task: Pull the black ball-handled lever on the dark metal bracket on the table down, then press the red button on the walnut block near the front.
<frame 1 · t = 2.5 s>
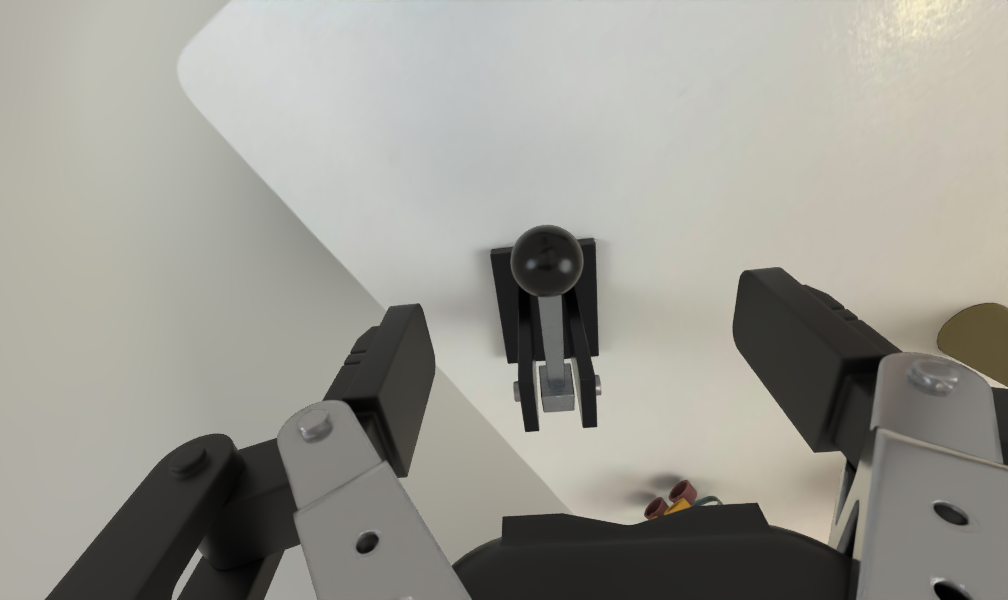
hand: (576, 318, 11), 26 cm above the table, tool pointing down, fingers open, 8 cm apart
bracket: (547, 302, 41), on the table
binoculars: (669, 491, 54), on the table
olive game pawn: (971, 329, 41), on the table
lever: (552, 338, 25), point 15 cm above the table, hinge at 25.0°
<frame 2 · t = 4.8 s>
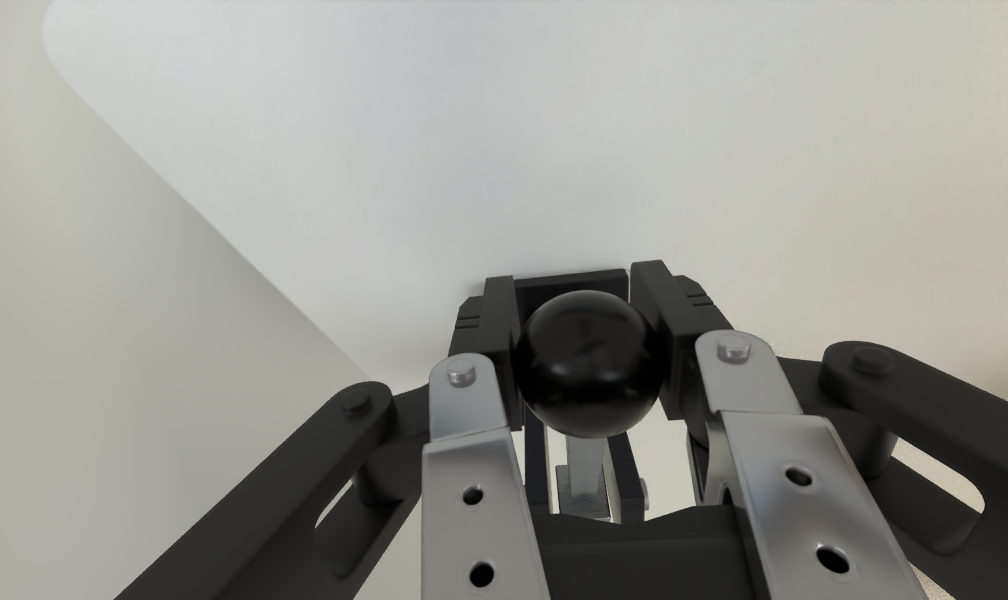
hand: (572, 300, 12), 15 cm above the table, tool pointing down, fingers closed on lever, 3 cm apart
bracket: (561, 349, 31), on the table
lever: (583, 454, 15), point 15 cm above the table, hinge at 25.0°, touching gripper
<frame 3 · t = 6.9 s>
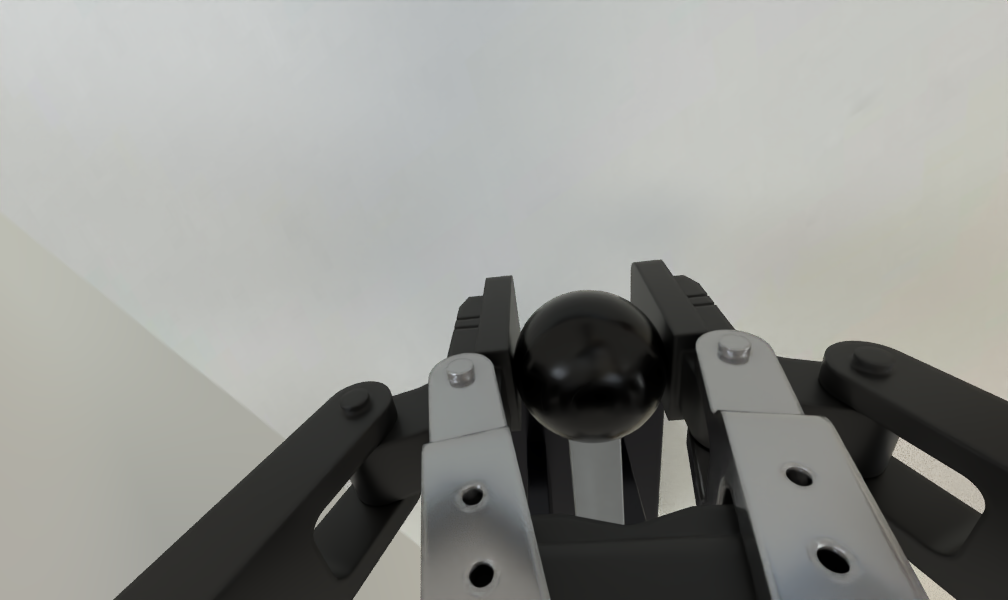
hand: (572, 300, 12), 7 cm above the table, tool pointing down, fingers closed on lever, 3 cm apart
bracket: (574, 449, 25), on the table
lever: (603, 589, 12), point 11 cm above the table, hinge at -8.7°, touching gripper
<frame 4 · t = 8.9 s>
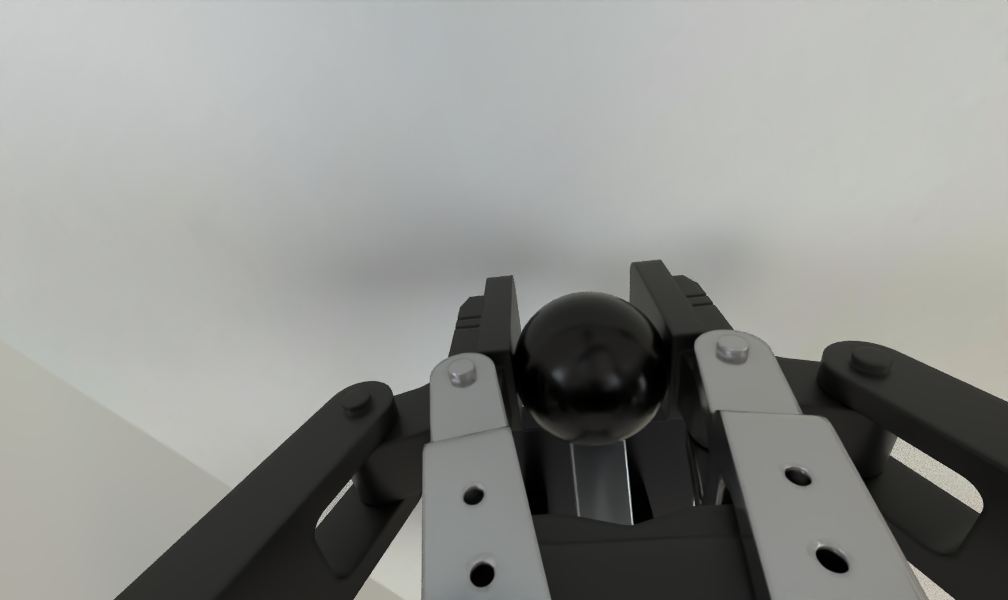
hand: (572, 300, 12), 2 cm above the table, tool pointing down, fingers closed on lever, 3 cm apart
bracket: (582, 497, 20), on the table
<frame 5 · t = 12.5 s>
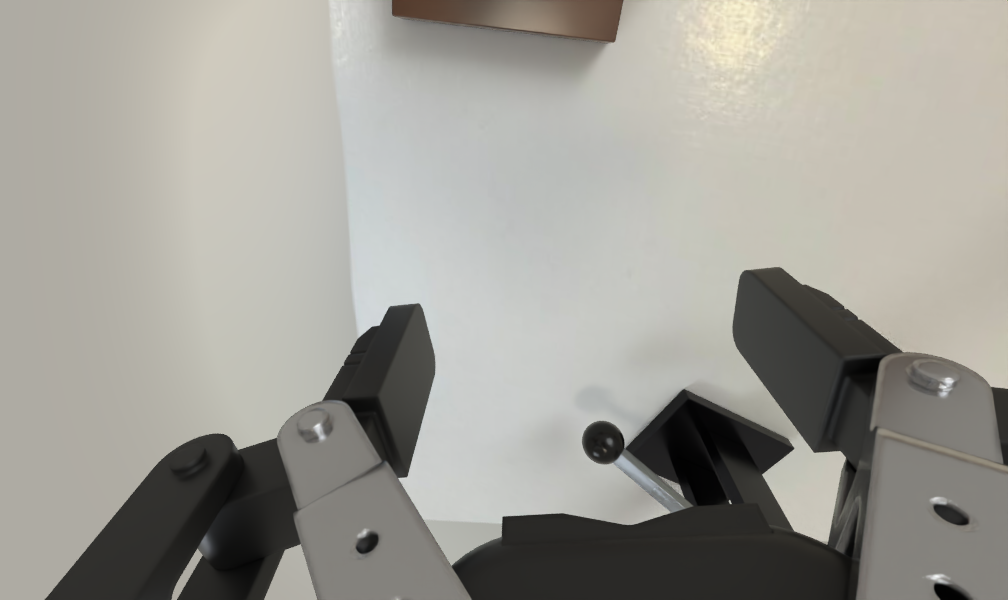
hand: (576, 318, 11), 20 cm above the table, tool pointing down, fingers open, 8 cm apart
bracket: (703, 445, 41), on the table
lever: (679, 506, 32), point 9 cm above the table, hinge at -28.4°
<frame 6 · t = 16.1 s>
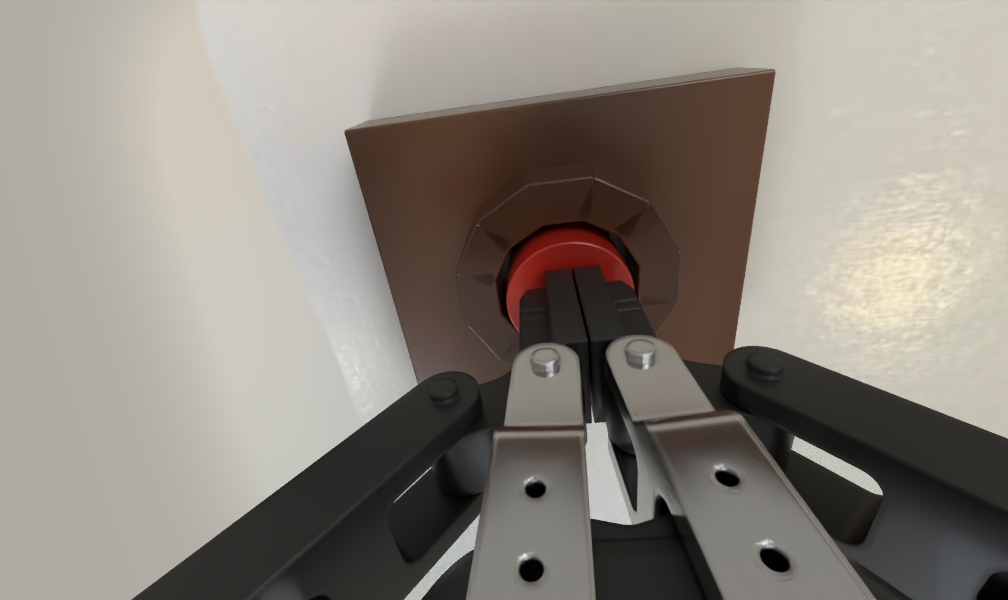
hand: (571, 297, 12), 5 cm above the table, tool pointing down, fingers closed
red button: (567, 287, 13), point 4 cm above the table, slide at -0.5 cm, touching gripper
button block: (557, 240, 16), on the table
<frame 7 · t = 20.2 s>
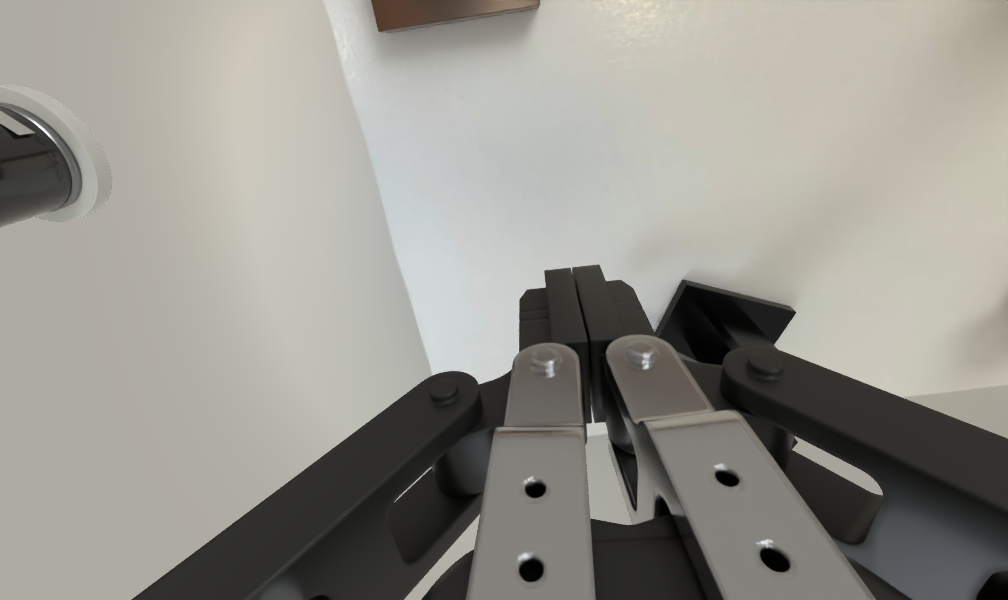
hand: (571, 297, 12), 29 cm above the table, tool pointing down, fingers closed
bracket: (715, 328, 46), on the table
lever: (688, 366, 38), point 9 cm above the table, hinge at -28.4°
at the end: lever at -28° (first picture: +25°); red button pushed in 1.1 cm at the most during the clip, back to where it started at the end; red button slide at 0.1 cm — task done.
